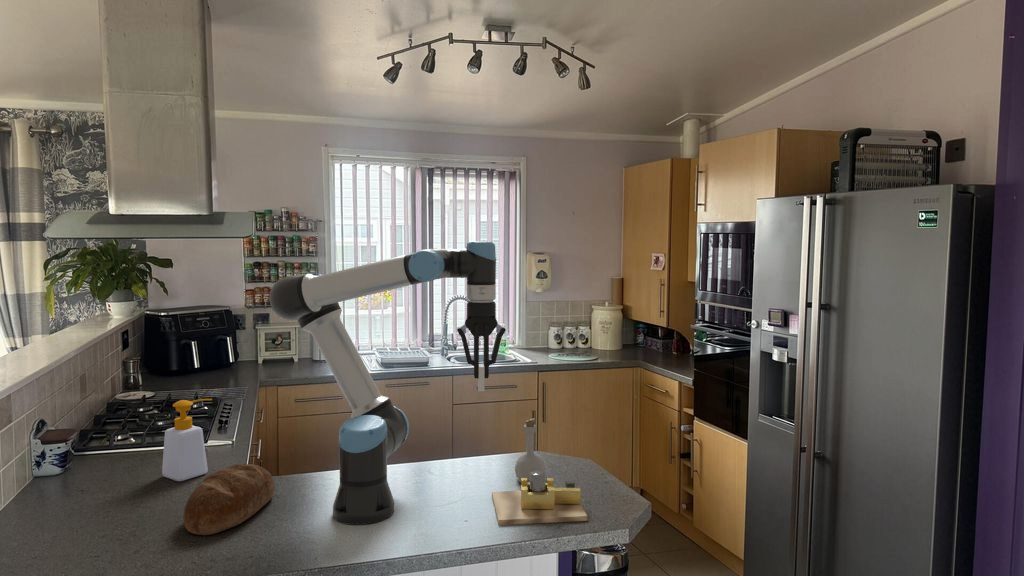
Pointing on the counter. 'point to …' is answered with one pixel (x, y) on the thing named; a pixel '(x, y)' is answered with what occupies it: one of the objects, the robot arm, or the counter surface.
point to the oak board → (532, 511)
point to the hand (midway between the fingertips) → (481, 390)
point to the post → (537, 481)
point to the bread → (227, 498)
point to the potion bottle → (529, 455)
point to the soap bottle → (184, 447)
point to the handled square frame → (548, 496)
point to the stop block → (570, 484)
